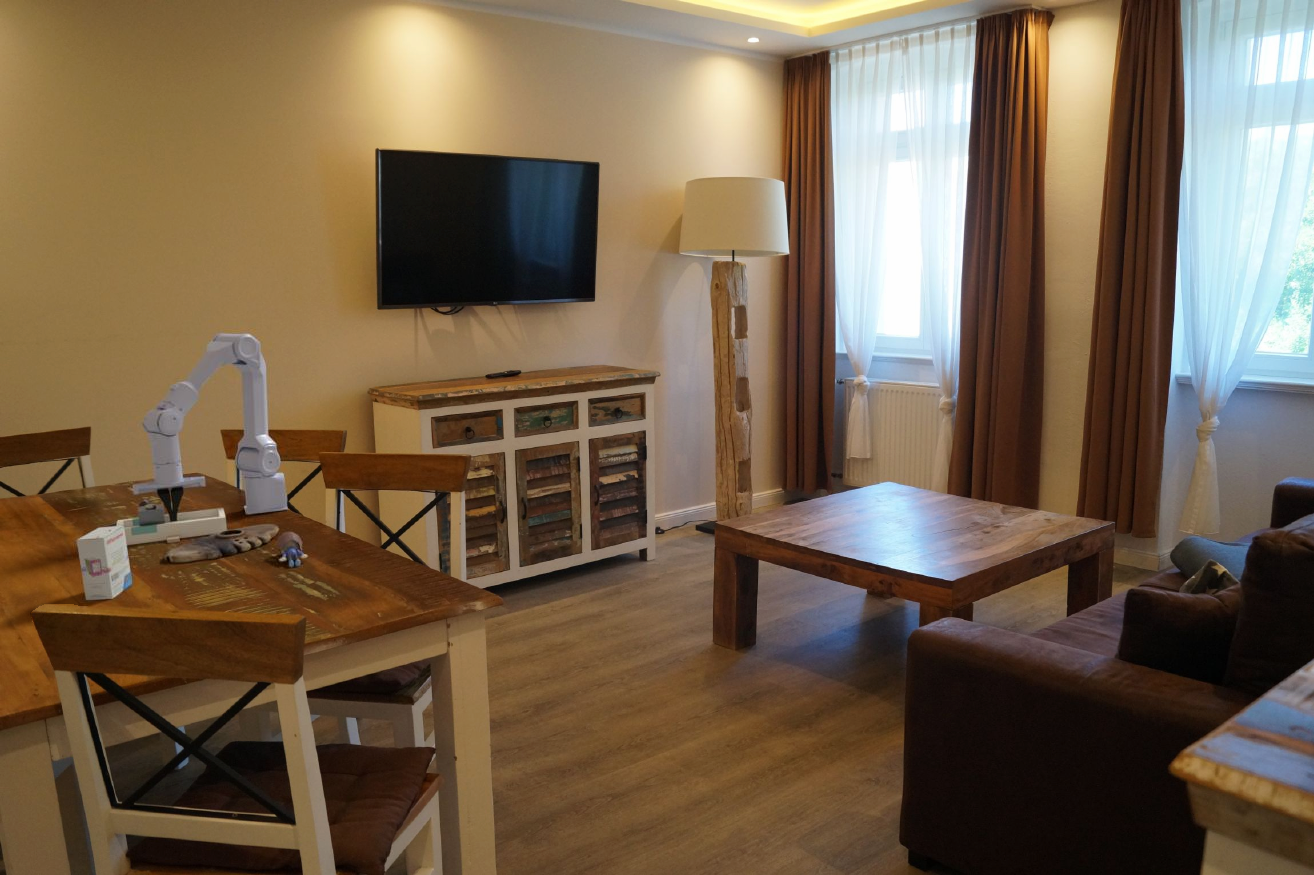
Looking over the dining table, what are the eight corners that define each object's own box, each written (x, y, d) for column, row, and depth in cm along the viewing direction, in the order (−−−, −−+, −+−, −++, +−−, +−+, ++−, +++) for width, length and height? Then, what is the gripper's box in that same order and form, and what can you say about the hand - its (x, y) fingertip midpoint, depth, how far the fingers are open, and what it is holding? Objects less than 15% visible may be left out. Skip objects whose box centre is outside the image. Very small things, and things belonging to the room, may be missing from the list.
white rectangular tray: (224, 522, 229) (223, 507, 229) (227, 535, 218) (226, 520, 217) (119, 535, 220) (117, 520, 219) (116, 549, 208) (114, 534, 207)
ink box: (106, 585, 185) (98, 525, 183) (133, 584, 185) (126, 524, 183) (83, 600, 176) (75, 538, 174) (112, 599, 177) (104, 537, 175)
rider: (165, 523, 221) (162, 501, 220) (165, 528, 217) (162, 506, 216) (140, 526, 219) (138, 504, 218) (140, 531, 215) (137, 509, 214)
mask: (147, 545, 202) (256, 512, 222) (149, 560, 203) (258, 527, 223) (184, 557, 194) (293, 522, 213) (186, 574, 195) (295, 537, 214)
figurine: (310, 573, 196) (302, 549, 206) (308, 549, 194) (300, 527, 204) (281, 577, 193) (274, 553, 203) (280, 553, 192) (273, 530, 202)
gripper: (200, 455, 224) (206, 512, 227) (129, 462, 217) (136, 521, 219) (203, 460, 218) (209, 518, 220) (130, 468, 211) (138, 528, 213)
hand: (173, 520), depth 220 cm, fingers closed
